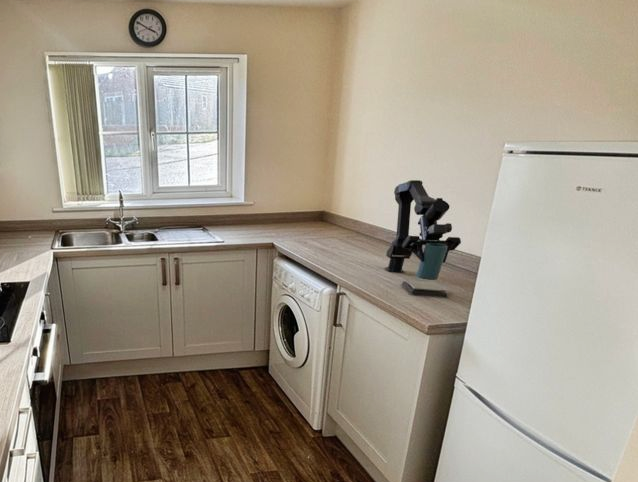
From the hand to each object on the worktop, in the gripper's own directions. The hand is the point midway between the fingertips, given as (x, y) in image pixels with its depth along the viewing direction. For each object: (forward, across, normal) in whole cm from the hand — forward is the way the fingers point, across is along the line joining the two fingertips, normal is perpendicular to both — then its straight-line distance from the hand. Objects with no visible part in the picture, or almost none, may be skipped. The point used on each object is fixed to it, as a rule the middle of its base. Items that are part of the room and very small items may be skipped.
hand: (433, 261), depth 175 cm
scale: (+7, 0, +10) cm, 12 cm away
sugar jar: (+4, 0, +6) cm, 7 cm away
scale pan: (+7, 0, +8) cm, 10 cm away
